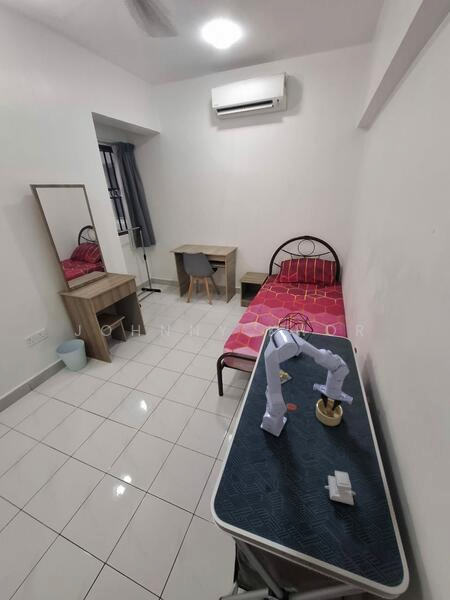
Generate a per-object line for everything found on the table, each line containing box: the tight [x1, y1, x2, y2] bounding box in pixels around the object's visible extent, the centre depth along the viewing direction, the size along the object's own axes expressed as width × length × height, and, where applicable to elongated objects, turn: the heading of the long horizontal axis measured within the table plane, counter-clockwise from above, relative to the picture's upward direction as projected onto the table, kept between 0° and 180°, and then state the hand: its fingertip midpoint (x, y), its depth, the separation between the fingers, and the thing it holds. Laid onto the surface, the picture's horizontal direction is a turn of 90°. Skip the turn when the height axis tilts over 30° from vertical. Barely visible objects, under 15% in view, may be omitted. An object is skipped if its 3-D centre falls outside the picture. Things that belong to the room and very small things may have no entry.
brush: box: [323, 403, 334, 418], centre depth 101 cm, size 4×4×6 cm
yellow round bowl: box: [315, 398, 343, 427], centre depth 101 cm, size 10×10×4 cm
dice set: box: [279, 368, 292, 385], centre depth 124 cm, size 5×5×2 cm
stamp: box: [324, 470, 357, 506], centre depth 75 cm, size 9×7×8 cm
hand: (329, 407), depth 100 cm, fingers closed on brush, 2 cm apart
